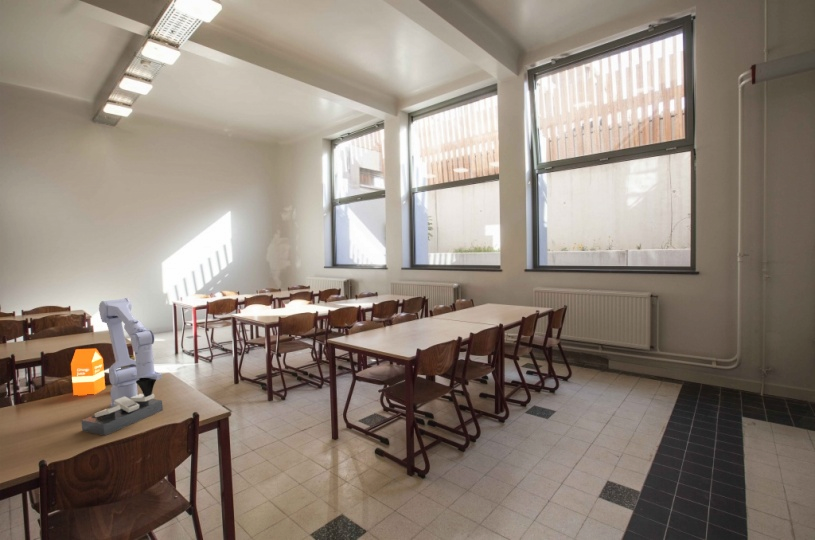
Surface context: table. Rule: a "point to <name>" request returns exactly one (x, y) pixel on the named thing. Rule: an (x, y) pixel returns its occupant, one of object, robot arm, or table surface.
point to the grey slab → (120, 418)
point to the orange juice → (87, 372)
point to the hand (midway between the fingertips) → (148, 396)
